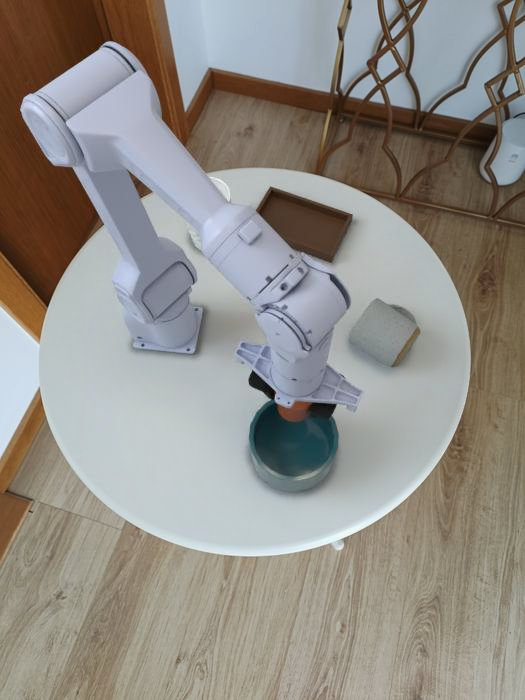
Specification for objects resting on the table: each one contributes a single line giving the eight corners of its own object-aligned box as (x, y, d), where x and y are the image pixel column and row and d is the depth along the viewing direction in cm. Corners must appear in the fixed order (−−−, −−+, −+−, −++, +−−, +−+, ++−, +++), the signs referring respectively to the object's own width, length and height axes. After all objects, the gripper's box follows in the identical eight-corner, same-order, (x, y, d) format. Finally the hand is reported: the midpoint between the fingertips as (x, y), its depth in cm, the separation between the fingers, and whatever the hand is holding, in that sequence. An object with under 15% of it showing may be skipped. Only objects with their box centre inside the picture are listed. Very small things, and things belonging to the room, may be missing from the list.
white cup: (240, 222, 91) (236, 180, 82) (228, 259, 88) (223, 220, 79) (196, 214, 92) (187, 172, 83) (182, 251, 89) (172, 211, 80)
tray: (247, 232, 90) (246, 225, 88) (270, 194, 94) (270, 186, 92) (331, 263, 87) (332, 256, 85) (351, 222, 91) (353, 214, 89)
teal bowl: (246, 487, 72) (243, 474, 65) (257, 408, 77) (255, 389, 70) (329, 497, 71) (335, 485, 64) (335, 417, 76) (341, 398, 69)
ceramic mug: (391, 378, 78) (403, 356, 71) (343, 349, 80) (350, 324, 73) (426, 327, 82) (440, 300, 75) (380, 300, 84) (389, 272, 77)
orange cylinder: (271, 422, 66) (271, 406, 61) (276, 384, 69) (276, 365, 63) (313, 427, 66) (317, 411, 61) (317, 388, 68) (320, 369, 63)
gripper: (216, 360, 54) (227, 405, 66) (352, 418, 51) (337, 454, 63) (247, 305, 56) (252, 358, 69) (377, 357, 53) (358, 403, 66)
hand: (294, 401), depth 66 cm, fingers closed on orange cylinder, 5 cm apart
